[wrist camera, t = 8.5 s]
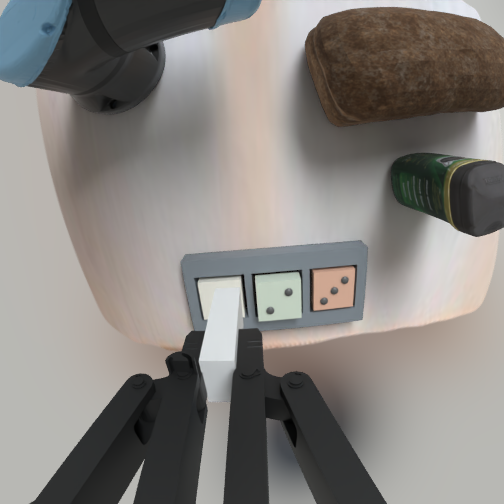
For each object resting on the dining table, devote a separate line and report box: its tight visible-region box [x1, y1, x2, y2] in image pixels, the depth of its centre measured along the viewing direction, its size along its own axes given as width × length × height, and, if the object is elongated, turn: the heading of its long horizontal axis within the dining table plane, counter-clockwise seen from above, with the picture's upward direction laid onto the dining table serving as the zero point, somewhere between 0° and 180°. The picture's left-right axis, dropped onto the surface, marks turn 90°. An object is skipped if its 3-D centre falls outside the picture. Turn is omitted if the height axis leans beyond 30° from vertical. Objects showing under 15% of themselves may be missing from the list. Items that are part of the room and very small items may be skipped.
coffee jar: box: [391, 153, 504, 237], centre depth 30 cm, size 10×8×19 cm
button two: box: [255, 272, 302, 321], centre depth 41 cm, size 6×6×3 cm
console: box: [181, 241, 368, 331], centre depth 43 cm, size 26×12×3 cm, turn 95°
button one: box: [198, 274, 245, 320], centre depth 42 cm, size 6×6×3 cm
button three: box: [311, 265, 355, 311], centre depth 42 cm, size 6×6×3 cm
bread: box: [305, 7, 504, 127], centre depth 26 cm, size 15×32×16 cm, turn 106°
